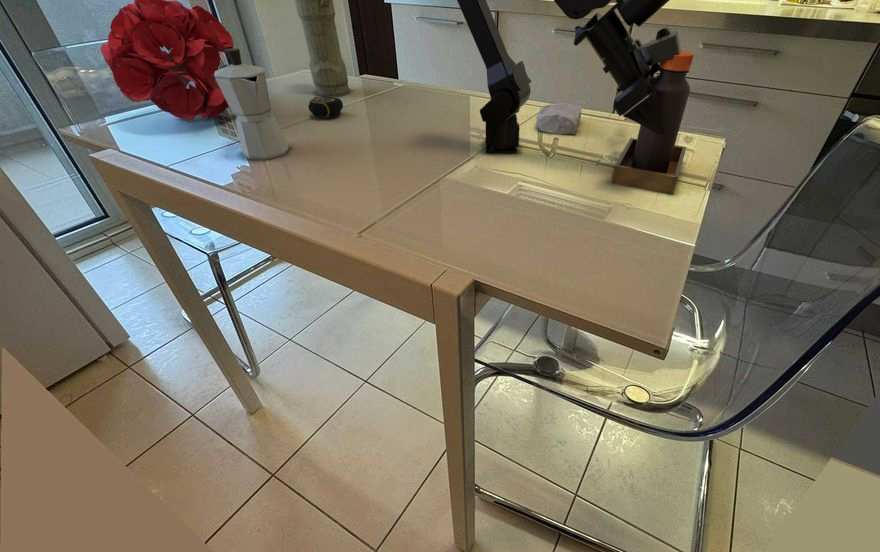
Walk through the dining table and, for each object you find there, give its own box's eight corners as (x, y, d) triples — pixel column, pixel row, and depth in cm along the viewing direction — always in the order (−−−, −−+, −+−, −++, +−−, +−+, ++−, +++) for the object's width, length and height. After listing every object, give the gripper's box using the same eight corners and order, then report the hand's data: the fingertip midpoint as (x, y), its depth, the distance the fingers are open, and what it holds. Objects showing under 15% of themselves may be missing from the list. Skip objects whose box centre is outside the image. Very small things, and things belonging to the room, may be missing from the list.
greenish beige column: (334, 99, 115) (296, -81, 92) (305, 91, 120) (262, -82, 97) (360, 92, 120) (330, -80, 97) (332, 84, 125) (297, -81, 102)
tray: (611, 182, 81) (614, 165, 79) (627, 153, 92) (630, 137, 90) (673, 194, 78) (678, 177, 76) (681, 162, 89) (686, 146, 87)
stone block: (535, 139, 101) (579, 134, 98) (533, 117, 98) (578, 112, 96) (542, 124, 110) (583, 119, 107) (540, 104, 107) (582, 98, 105)
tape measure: (345, 112, 108) (342, 95, 106) (336, 121, 103) (332, 104, 100) (318, 110, 108) (314, 94, 106) (307, 120, 103) (303, 102, 101)
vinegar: (642, 161, 88) (670, 46, 75) (673, 171, 85) (707, 53, 72) (623, 170, 85) (648, 51, 72) (654, 182, 81) (687, 59, 68)
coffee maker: (302, 154, 88) (273, 51, 76) (259, 167, 83) (220, 58, 71) (267, 134, 95) (236, 38, 84) (225, 145, 91) (186, 44, 79)
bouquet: (200, 126, 117) (76, 92, 88) (205, 28, 112) (75, -41, 83) (273, 141, 114) (169, 111, 85) (282, 42, 109) (174, -26, 80)
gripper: (652, 18, 63) (708, 110, 67) (664, 2, 76) (711, 80, 80) (589, 74, 70) (644, 153, 74) (610, 51, 83) (656, 120, 87)
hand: (666, 124), depth 79 cm, fingers open, 9 cm apart
